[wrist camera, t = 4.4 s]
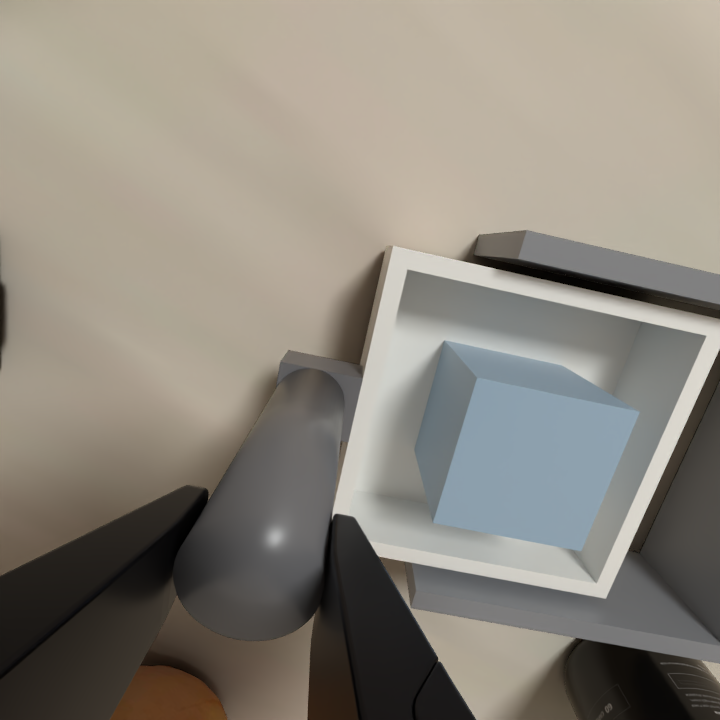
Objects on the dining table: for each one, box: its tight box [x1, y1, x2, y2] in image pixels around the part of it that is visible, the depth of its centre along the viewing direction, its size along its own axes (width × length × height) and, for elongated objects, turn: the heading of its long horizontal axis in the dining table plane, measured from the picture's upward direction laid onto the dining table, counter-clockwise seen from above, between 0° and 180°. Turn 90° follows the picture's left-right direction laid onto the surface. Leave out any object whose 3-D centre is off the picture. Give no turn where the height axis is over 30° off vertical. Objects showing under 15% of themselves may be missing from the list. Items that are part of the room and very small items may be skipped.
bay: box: [405, 230, 720, 664], centre depth 16 cm, size 13×14×5 cm
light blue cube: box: [414, 340, 640, 551], centre depth 15 cm, size 5×5×5 cm
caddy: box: [173, 246, 720, 641], centre depth 13 cm, size 14×11×12 cm
